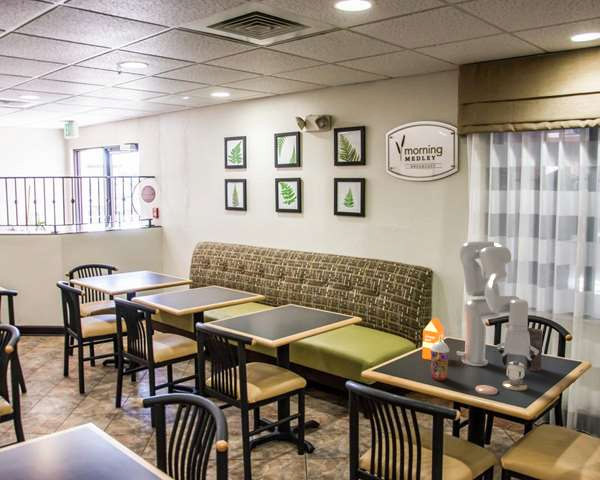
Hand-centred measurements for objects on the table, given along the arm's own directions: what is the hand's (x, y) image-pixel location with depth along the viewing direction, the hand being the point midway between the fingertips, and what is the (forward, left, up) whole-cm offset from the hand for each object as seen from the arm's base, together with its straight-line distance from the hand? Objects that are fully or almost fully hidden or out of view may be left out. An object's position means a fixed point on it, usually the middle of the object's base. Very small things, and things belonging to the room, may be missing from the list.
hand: (516, 366), depth 243 cm
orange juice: (-45, +19, -10) cm, 50 cm away
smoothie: (-32, -9, -10) cm, 34 cm away
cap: (-1, 0, -4) cm, 4 cm away
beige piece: (-1, 0, -9) cm, 9 cm away
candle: (+1, +29, -10) cm, 31 cm away
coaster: (-10, -12, -9) cm, 18 cm away
